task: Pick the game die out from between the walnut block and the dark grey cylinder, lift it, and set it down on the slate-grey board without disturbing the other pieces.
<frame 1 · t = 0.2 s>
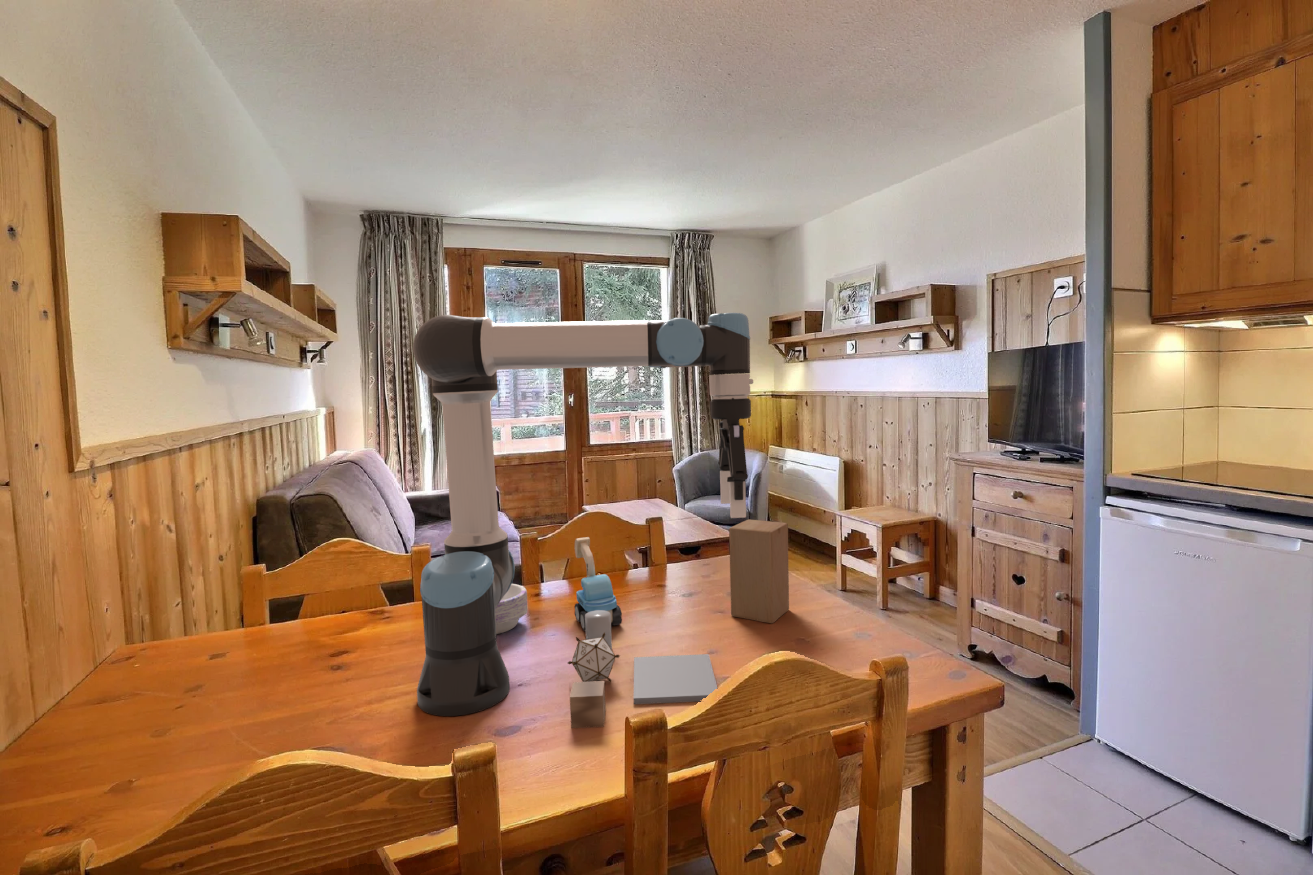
hand: (732, 510, 124), 28 cm above the table, tool pointing down, fingers open, 13 cm apart
grey cylinder: (599, 648, 130), on the table
wooden block: (760, 614, 146), on the table
slate board: (673, 680, 115), on the table
game die: (594, 682, 116), on the table
paper bowls: (492, 628, 143), on the table
toy excavator: (594, 619, 147), on the table
walnut block: (588, 719, 103), on the table
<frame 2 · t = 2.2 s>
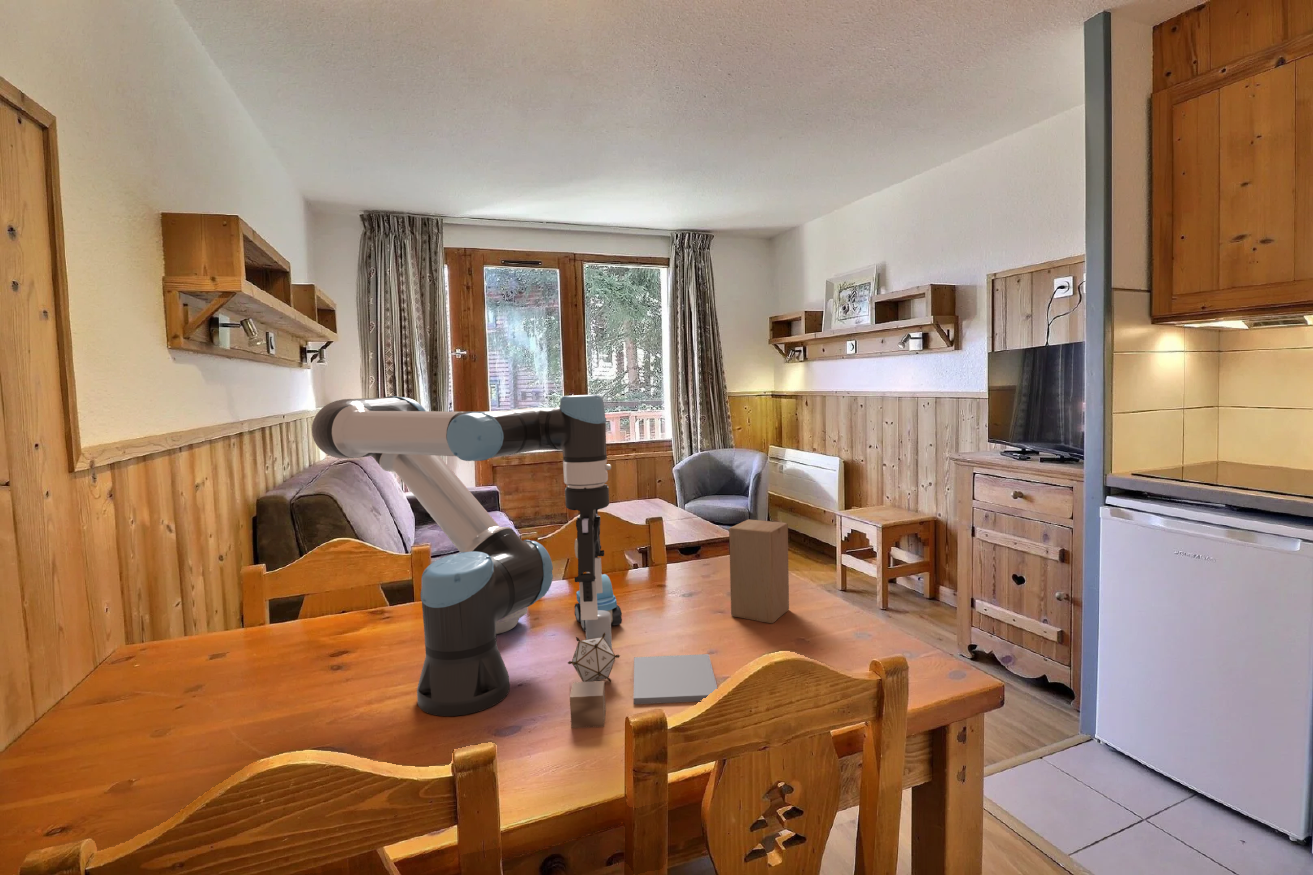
hand: (592, 605, 114), 14 cm above the table, tool pointing down, fingers open, 13 cm apart
nothing on the table moved.
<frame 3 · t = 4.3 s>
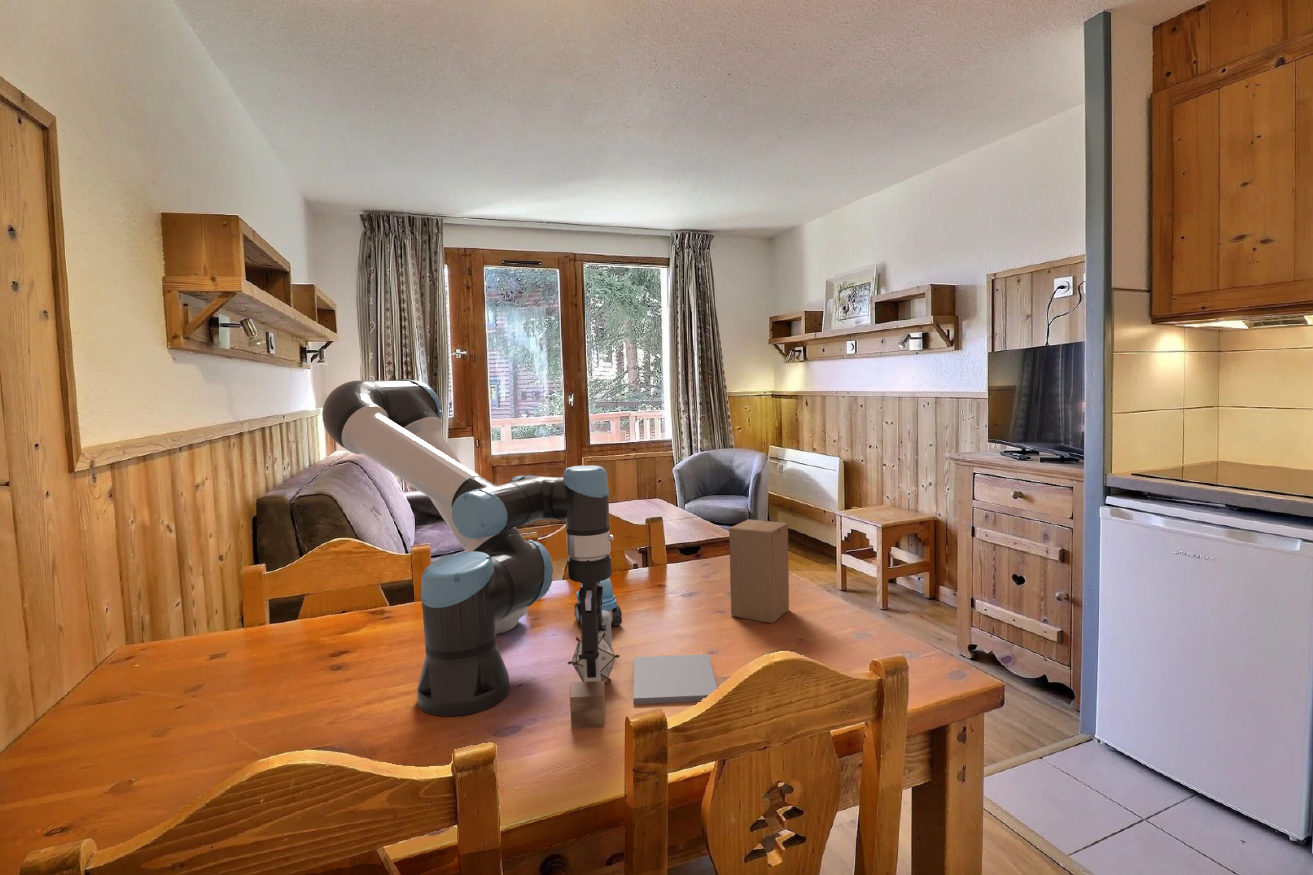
hand: (594, 679, 116), 0 cm above the table, tool pointing down, fingers open, 9 cm apart
game die: (594, 682, 116), on the table, touching gripper
everything else where it was.
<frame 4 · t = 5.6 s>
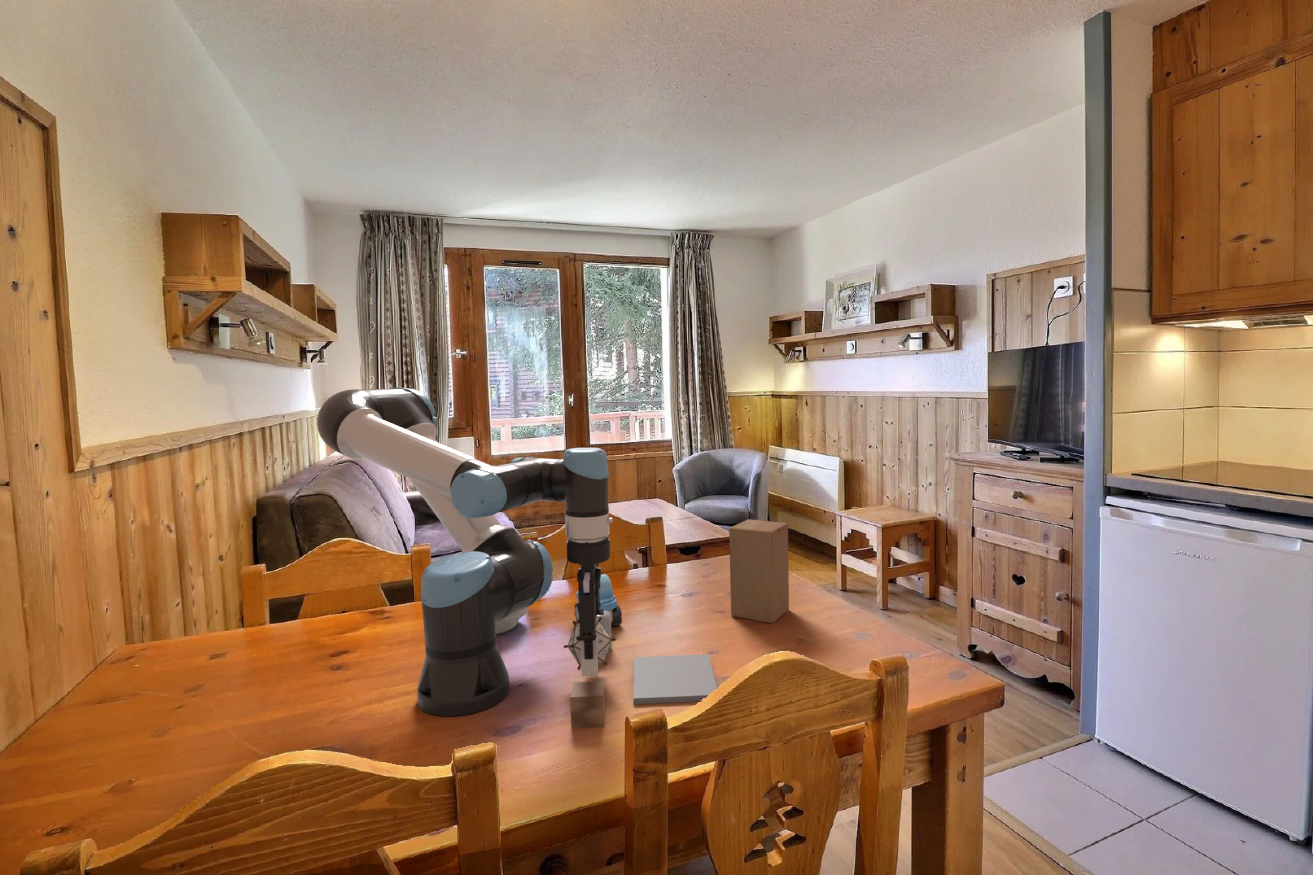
hand: (591, 662, 116), 3 cm above the table, tool pointing down, fingers closed on game die, 9 cm apart
game die: (590, 665, 116), point 3 cm above the table, touching gripper
everything else where it was.
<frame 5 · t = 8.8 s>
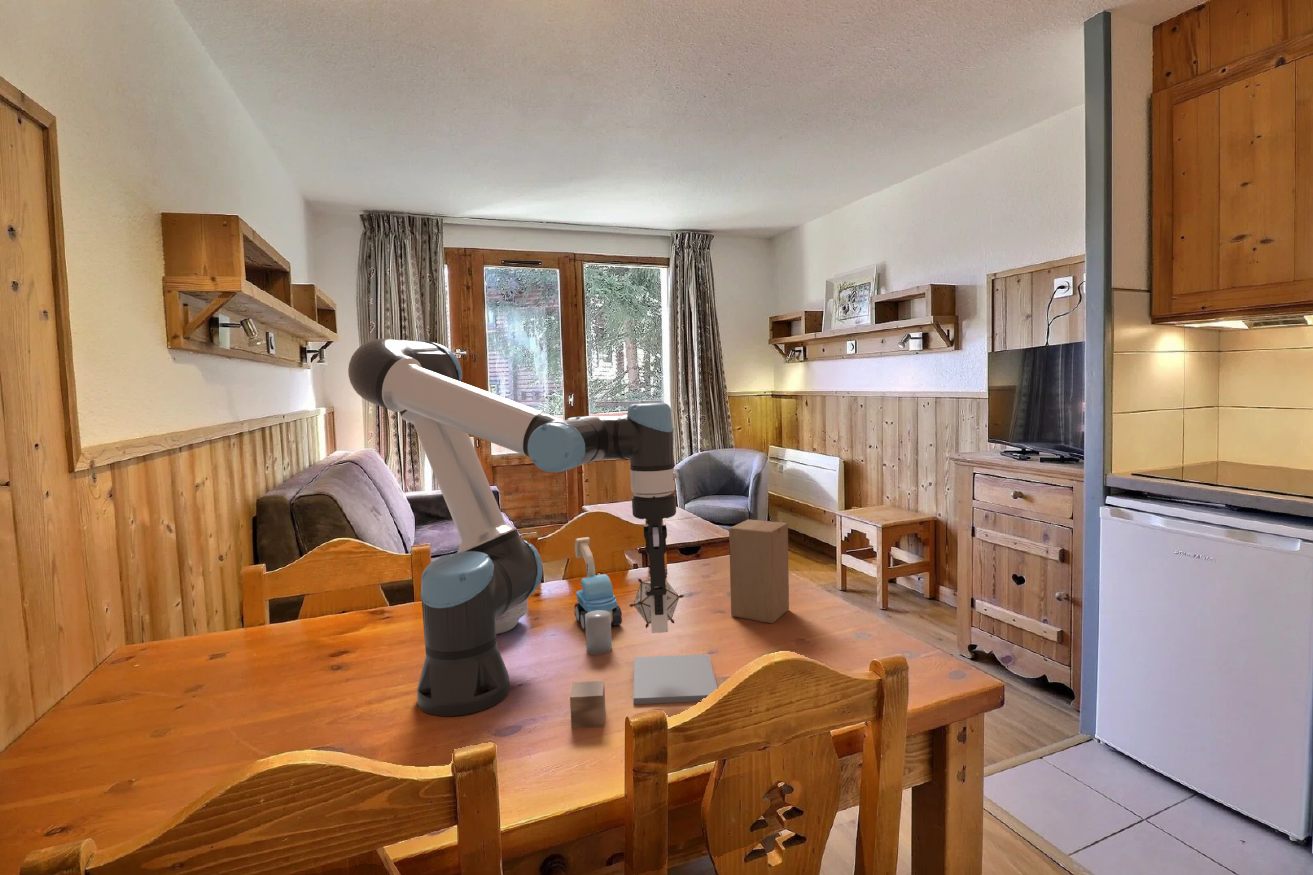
hand: (659, 621, 114), 11 cm above the table, tool pointing down, fingers closed on game die, 9 cm apart
game die: (657, 624, 114), point 10 cm above the table, touching gripper
everything else where it was.
when the fingers open (2 cm above the table, at t = 12.4 s): game die drops 1 cm, resting on slate board.
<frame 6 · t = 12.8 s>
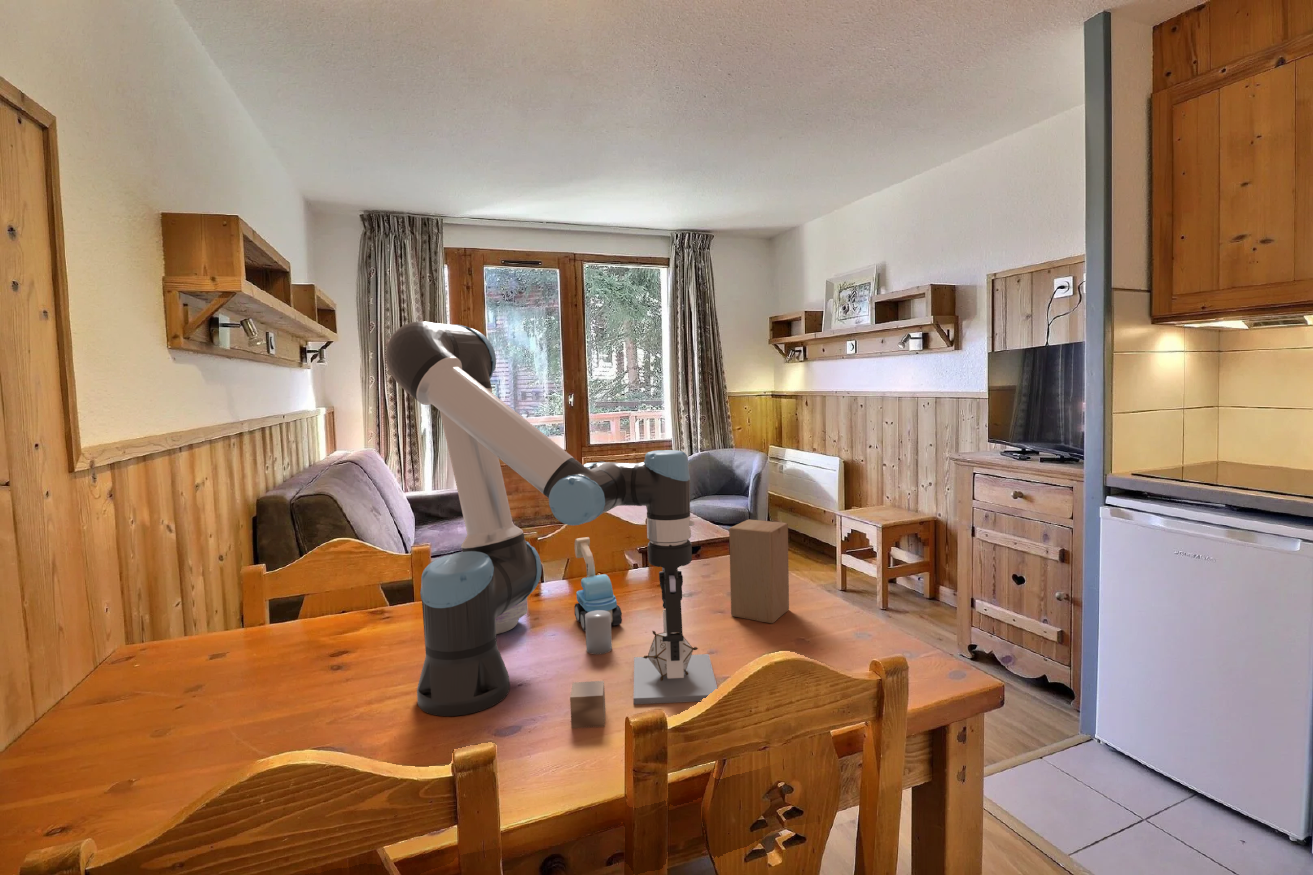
hand: (673, 660, 115), 4 cm above the table, tool pointing down, fingers open, 13 cm apart
game die: (671, 675, 115), point 1 cm above the table, touching slate board
everything else where it was.
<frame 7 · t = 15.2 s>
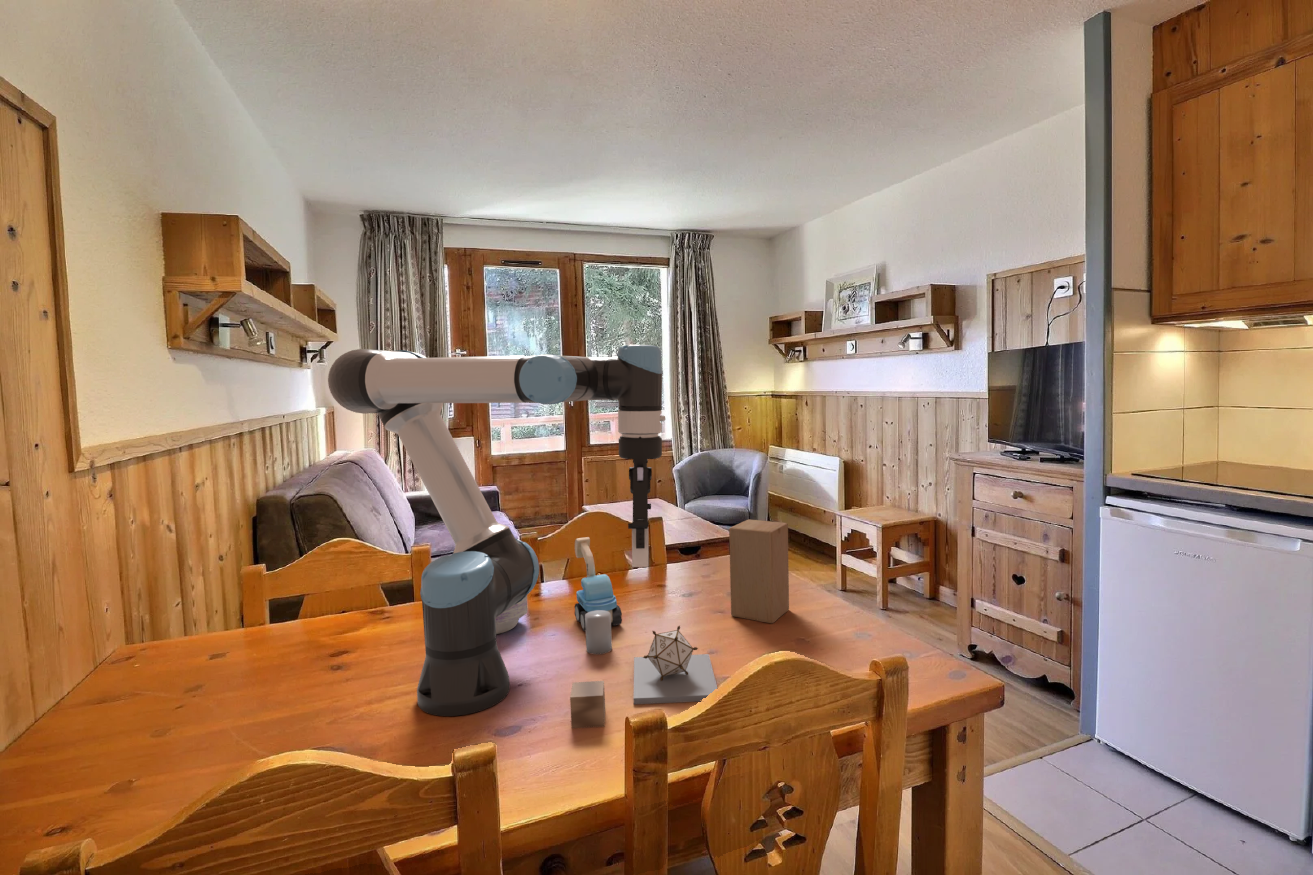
hand: (640, 555, 115), 22 cm above the table, tool pointing down, fingers open, 13 cm apart
nothing on the table moved.
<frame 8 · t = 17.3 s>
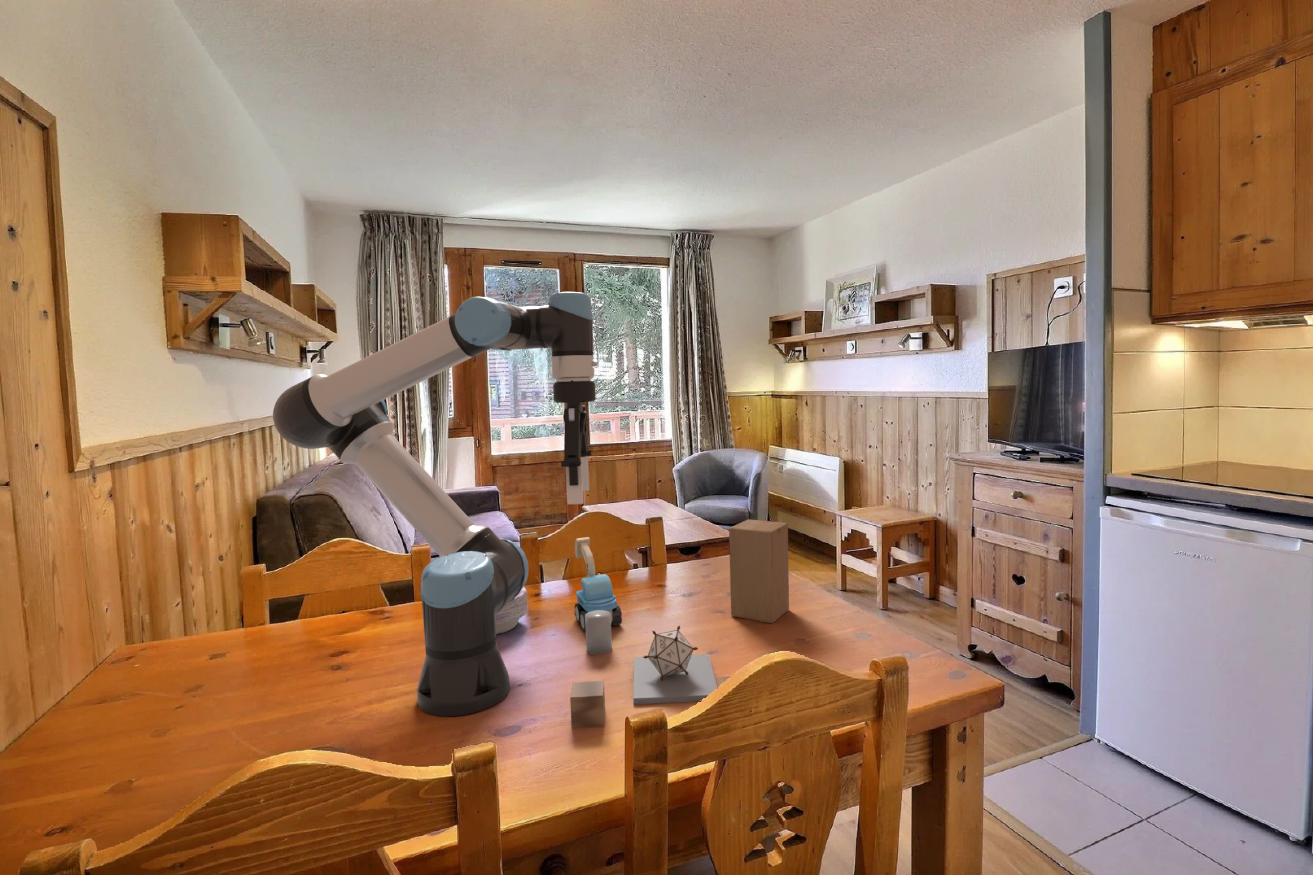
hand: (579, 497, 120), 32 cm above the table, tool pointing down, fingers open, 13 cm apart
nothing on the table moved.
at the end: game die inside the target area on the slate board (0.5 cm from its centre), point 0.8 cm above the slate board's base; the gripper is holding nothing; walnut block moved 0.1 cm from its start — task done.
